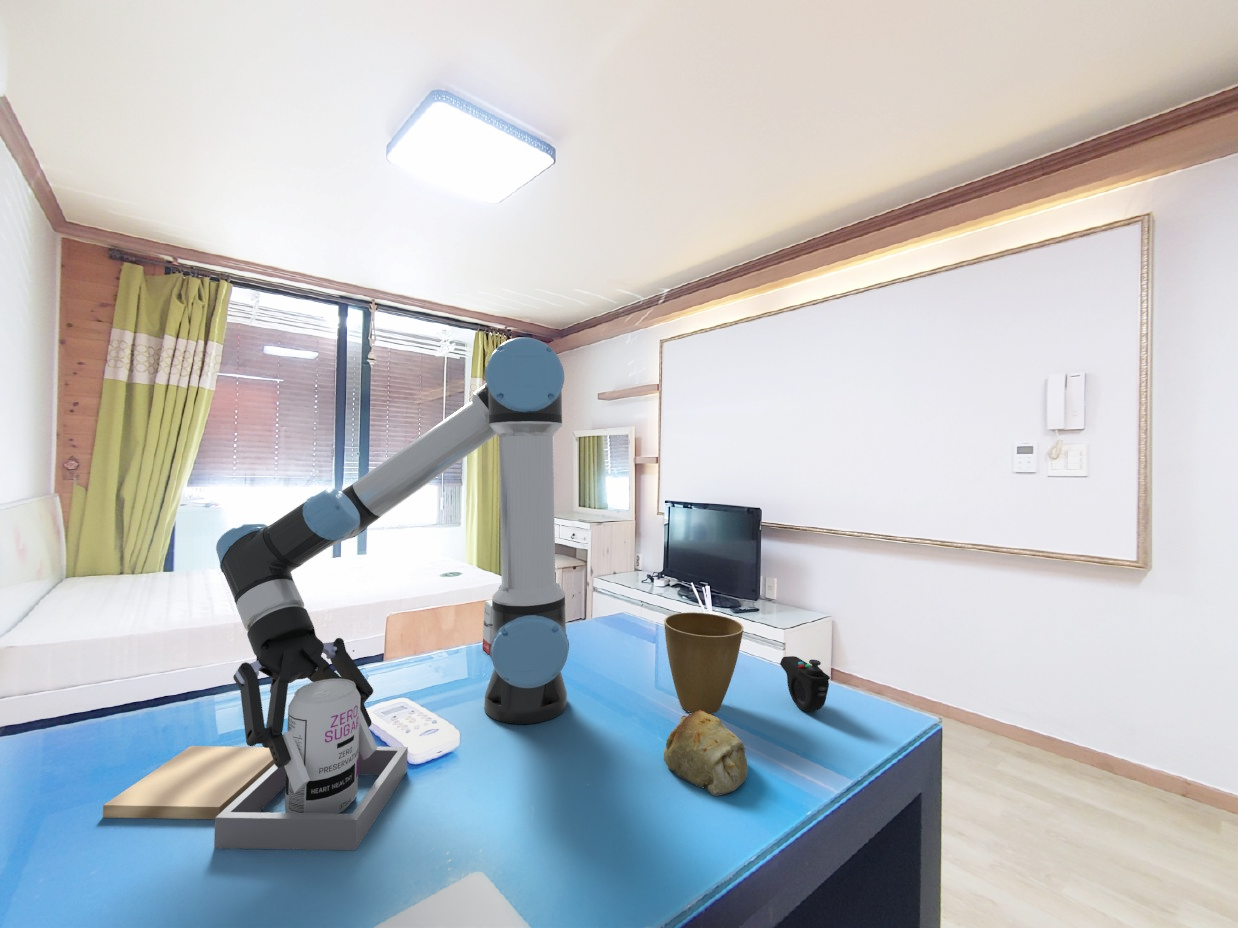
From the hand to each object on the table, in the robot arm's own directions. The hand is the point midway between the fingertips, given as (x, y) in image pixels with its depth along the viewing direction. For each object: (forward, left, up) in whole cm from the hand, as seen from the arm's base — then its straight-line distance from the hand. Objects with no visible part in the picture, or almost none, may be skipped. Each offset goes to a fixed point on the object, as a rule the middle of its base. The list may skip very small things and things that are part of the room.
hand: (338, 769), depth 68 cm
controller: (-72, -34, -6) cm, 80 cm away
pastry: (-49, -12, -6) cm, 51 cm away
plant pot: (-52, -33, -6) cm, 62 cm away
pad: (+21, -6, -6) cm, 22 cm away
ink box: (-9, -62, -6) cm, 63 cm away
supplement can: (+3, -2, -6) cm, 7 cm away
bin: (+3, -2, -6) cm, 7 cm away
